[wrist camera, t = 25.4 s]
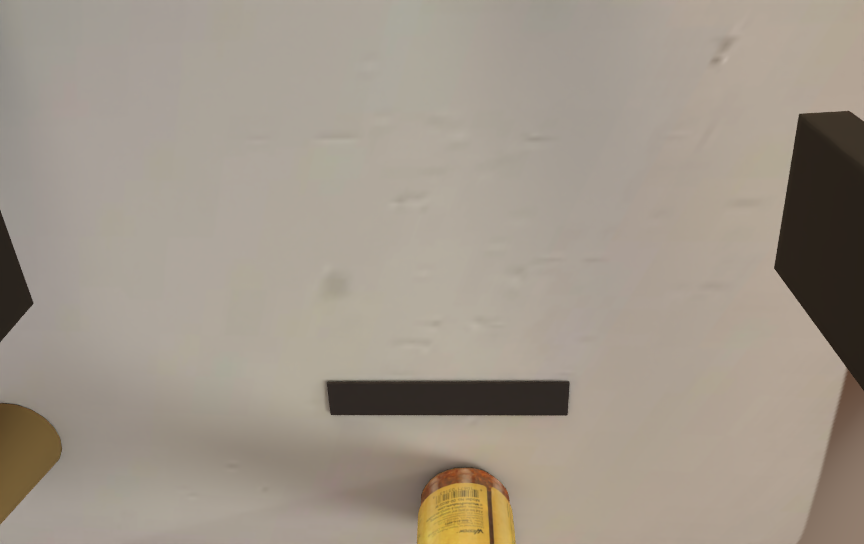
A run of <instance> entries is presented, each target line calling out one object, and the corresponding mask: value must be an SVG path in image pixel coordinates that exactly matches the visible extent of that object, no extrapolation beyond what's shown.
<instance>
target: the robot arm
mask: <svg viewBox="0 0 864 544" xmlns="http://www.w3.org/2000/svg"><path fill="white" fill-rule="evenodd" d="M774 269H775V270H776V271H777V273H778V274H779V276H780V277H781V278H782V280H783V281H784V282H785V284H786V285H787V287H788V288H789V289H790V291H791V292H792V293H793V295H794V296H795V297H796V299H797V300H798V302H799V303H800V304H801V306H802V307H803V308H804V310H805V311H806V312H807V314H808V315H809V317H810V318H811V319H812V321H813V322H814V323H815V325H816V326H817V327H818V329H819V330H820V332H821V333H822V334H823V336H824V337H825V338H826V340H827V341H828V343H829V344H830V345H831V347H832V348H833V349H834V351H835V352H836V353H837V355H838V356H839V358H840V359H841V360H842V362H843V363H844V364H845V366H846V367H847V368H848V370H849V371H850V372H851V374H852V375H853V377H854V378H855V379H856V381H857V382H858V383H859V385H860V386H861V388H862V389H863V390H864V121H862V120H861V119H860V118H858V117H857V116H856V115H854V114H853V113H851V112H850V111H841V112H823V113H806V114H799V118H798V124H797V130H796V136H795V143H794V149H793V155H792V161H791V167H790V174H789V180H788V186H787V192H786V198H785V204H784V211H783V217H782V223H781V229H780V235H779V242H778V248H777V254H776V260H775V266H774ZM32 305H33V301H32V298H31V295H30V292H29V289H28V287H27V284H26V281H25V278H24V275H23V273H22V270H21V267H20V264H19V261H18V259H17V256H16V253H15V250H14V247H13V245H12V242H11V239H10V236H9V233H8V231H7V228H6V225H5V222H4V219H3V217H2V214H1V211H0V342H1V340H2V339H3V338H4V337H5V336H6V335H7V334H8V332H9V331H10V330H11V329H12V328H13V327H14V325H15V324H16V323H17V322H18V321H19V320H20V318H21V317H22V316H23V315H24V314H25V313H26V312H27V310H28V309H29V308H30V307H31V306H32Z"/></svg>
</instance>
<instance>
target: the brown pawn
mask: <svg viewBox="0 0 864 544" xmlns="http://www.w3.org/2000/svg"><path fill="white" fill-rule="evenodd" d="M61 451H62V447H61V441H60V437H59V436H58V434H57V432H56V430H55V429H54V427H53V426H52V425H51V424H50V423H49V422H48V421H47V420H46V419H45V418H44V417H42V416H40V415H39V414H37V413H35V412H34V411H32V410H30V409H27V408H24V407H21V406H19V405H14V404H4V403H1V404H0V524H1V523H2V522H3V521H4V520H5V519H6V518H7V516H8V515H9V514H10V513H11V512H12V511H13V510H14V509H15V508H16V506H17V505H18V504H19V503H20V502H21V501H22V500H23V499H24V498H25V497H26V495H27V494H28V493H29V492H30V491H31V490H32V489H33V488H34V487H35V485H36V484H37V483H38V482H39V481H40V480H41V479H42V478H43V477H44V476H45V474H46V473H47V472H48V471H49V470H50V469H51V468H52V467H53V466H54V464H55V463H56V462H57V461H58V460H59V458H60V455H61Z"/></svg>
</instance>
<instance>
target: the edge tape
mask: <svg viewBox="0 0 864 544" xmlns="http://www.w3.org/2000/svg"><path fill="white" fill-rule="evenodd" d="M327 387H328V395H329V403H330V412H331V415H568V399H569V382H327Z"/></svg>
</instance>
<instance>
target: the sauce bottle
mask: <svg viewBox="0 0 864 544" xmlns="http://www.w3.org/2000/svg"><path fill="white" fill-rule="evenodd" d="M417 544H516V543H515V532H514V523H513V515H512V509H511V506H510V504H509V496H508V492H507V490H506V488H505V487H504V486H503V485H502V483H501V482H500V481H498V480H497V479H496V478H495V477H493V476H492V475H490V474H489V473H488V472H485V471H483V470H479V469H474V468H453V469H450V470H446V471H444V472H442V473H439V474H437V475H436V476H435V477H434V478H432V479H431V480H430V481H429V483H428V484H427V485H426V486H425V488H424V490H423V492H422V495H421V507H420V509H419V513H418V532H417Z"/></svg>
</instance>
